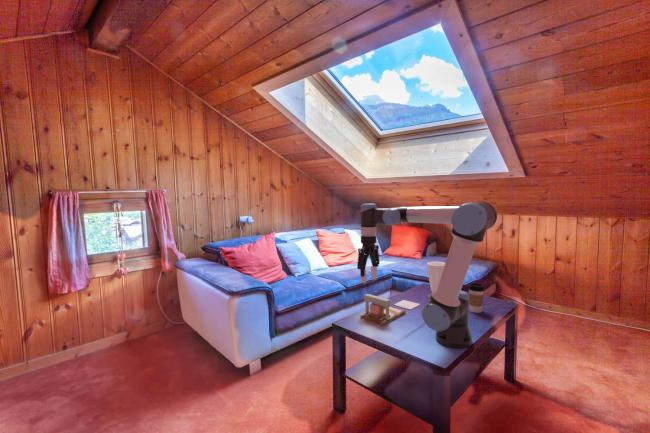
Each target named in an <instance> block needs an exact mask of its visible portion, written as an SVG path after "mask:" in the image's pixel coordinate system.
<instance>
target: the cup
mask: <svg viewBox="0 0 650 433" xmlns="http://www.w3.org/2000/svg"><path fill="white" fill-rule="evenodd" d="M445 263H446V262H443V261H433V260H432V261H428V262H427V263H426V267H427V275H428V281H429V286H430V290H431V293H432V292H433V291H435V290H437V287H438V284H439V281H440V278H441V275H442V272H443V269H444V266H445ZM431 293H430V294H427V295H426V299H430V296H431Z"/></svg>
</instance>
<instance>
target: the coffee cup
mask: <svg viewBox="0 0 650 433" xmlns="http://www.w3.org/2000/svg"><path fill="white" fill-rule="evenodd" d="M467 289H468V297H469V311H470V312H472V313H475V314H480V313H482V312H483V311H482V310H483V302H484V297H485V294H484V293H485V286H484V285H483V284H481V283H475V282H474V283H472V282H471V283H469V284H468V286H467Z"/></svg>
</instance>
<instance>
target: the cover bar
mask: <svg viewBox="0 0 650 433" xmlns="http://www.w3.org/2000/svg"><path fill="white" fill-rule="evenodd" d="M363 297H364V300H363V301H365V313H369V311H370V304H372V303H374V304H378V305H381V306H384V307H386V320H388V319H389V307H391V299H390V298H389V299H388V298H384V297H380V296H378V295H374V294H370V293H366V294H364V295H363Z"/></svg>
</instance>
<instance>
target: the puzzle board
mask: <svg viewBox="0 0 650 433" xmlns="http://www.w3.org/2000/svg"><path fill="white" fill-rule="evenodd" d="M408 313H409V312H408V311H407V309H406V310H405V309H399V308H395V307H392V306H389V319H388V320H386V307H384V317H383V318H381V319H376V318H373V317H370V310H369V313H366V312H365V313H363V314H361V315H360V316H359V317H360V318H358V319H357V320H358V321H362V322H363V323H367V324H370V325H372V326H375V327H378V328H383V327H384V326H386V325H387V324H390V323H391V322H393V321H395V320H396V319H398V318H400V317H402V316H404V315H406V314H408Z"/></svg>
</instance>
